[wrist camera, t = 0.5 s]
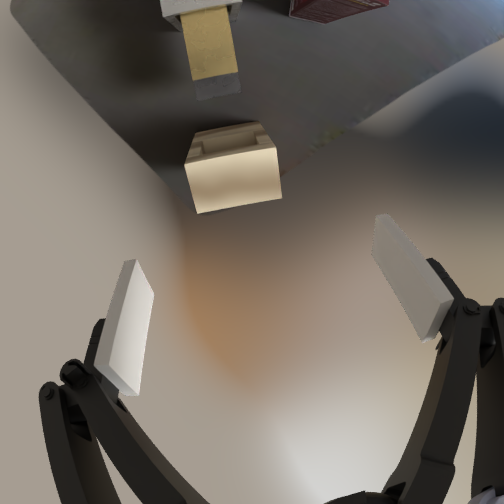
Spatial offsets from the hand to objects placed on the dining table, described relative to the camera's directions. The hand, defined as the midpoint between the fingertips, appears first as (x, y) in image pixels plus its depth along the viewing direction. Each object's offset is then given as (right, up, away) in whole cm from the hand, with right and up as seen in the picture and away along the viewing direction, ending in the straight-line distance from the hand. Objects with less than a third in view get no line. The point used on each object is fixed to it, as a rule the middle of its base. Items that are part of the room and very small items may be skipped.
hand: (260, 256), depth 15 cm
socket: (-3, +14, +20) cm, 25 cm away
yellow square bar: (-5, +24, +5) cm, 25 cm away
